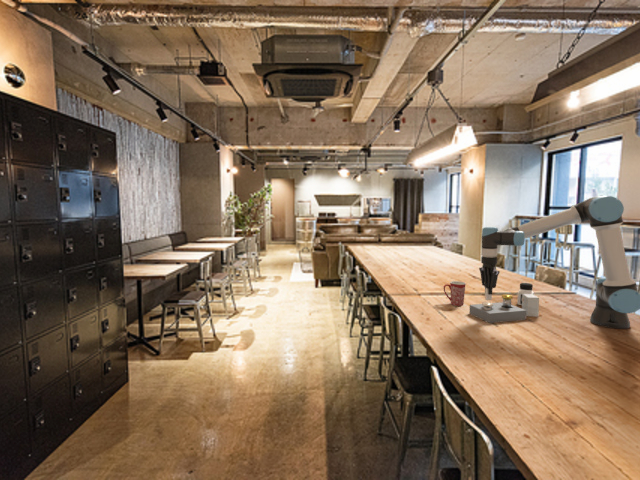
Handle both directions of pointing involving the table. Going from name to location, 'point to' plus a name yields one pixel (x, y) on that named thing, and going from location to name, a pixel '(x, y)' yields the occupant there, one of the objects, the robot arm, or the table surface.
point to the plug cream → (487, 305)
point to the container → (524, 291)
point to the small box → (530, 304)
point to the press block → (498, 313)
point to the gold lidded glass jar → (507, 300)
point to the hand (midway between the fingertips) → (488, 299)
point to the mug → (456, 292)
